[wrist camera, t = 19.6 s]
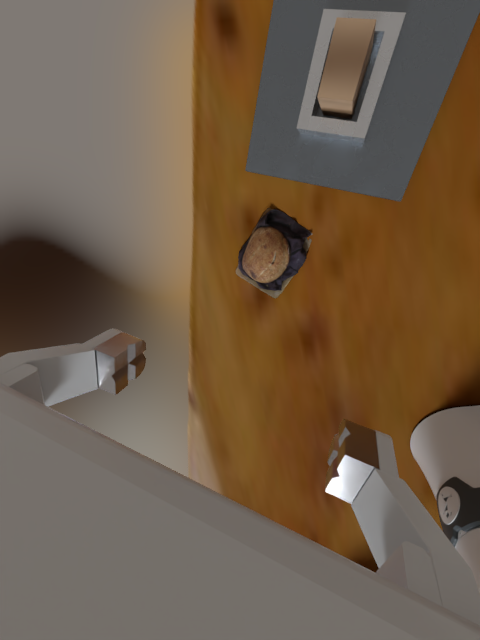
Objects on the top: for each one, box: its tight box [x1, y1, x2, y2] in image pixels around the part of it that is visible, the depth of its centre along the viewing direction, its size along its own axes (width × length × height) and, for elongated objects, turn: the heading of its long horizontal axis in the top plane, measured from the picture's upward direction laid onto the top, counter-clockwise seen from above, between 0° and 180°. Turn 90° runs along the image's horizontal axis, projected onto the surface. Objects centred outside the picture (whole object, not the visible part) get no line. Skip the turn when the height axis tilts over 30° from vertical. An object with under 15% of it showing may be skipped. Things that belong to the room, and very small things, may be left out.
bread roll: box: [236, 208, 312, 298], centre depth 36 cm, size 11×8×4 cm
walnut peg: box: [317, 17, 376, 119], centre depth 25 cm, size 5×3×6 cm, turn 170°
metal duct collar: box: [245, 0, 480, 201], centre depth 27 cm, size 18×18×4 cm
